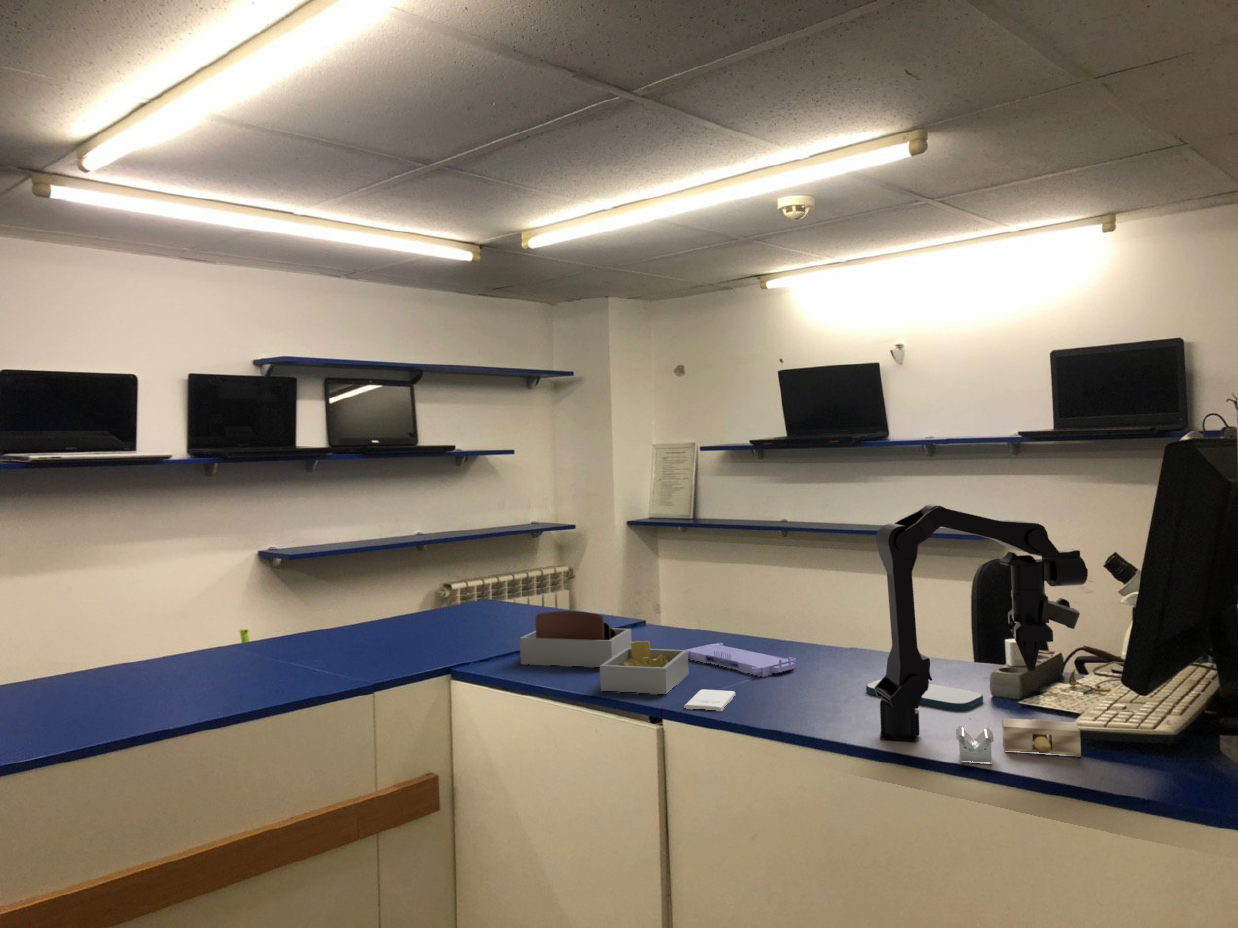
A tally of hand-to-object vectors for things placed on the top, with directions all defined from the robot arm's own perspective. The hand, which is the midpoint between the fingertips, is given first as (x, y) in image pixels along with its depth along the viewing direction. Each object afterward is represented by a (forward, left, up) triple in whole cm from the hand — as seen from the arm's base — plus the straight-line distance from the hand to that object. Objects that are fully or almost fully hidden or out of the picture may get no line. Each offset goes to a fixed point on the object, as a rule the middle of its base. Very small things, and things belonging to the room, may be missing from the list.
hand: (1030, 669), depth 170 cm
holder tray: (-109, +38, -11) cm, 116 cm away
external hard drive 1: (-64, +5, -12) cm, 65 cm away
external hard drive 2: (-20, +18, -12) cm, 29 cm away
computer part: (-65, +40, -12) cm, 77 cm away
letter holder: (-109, +37, -11) cm, 116 cm away
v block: (-11, -20, -11) cm, 26 cm away
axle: (0, -11, -9) cm, 15 cm away
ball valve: (-82, +18, -11) cm, 85 cm away
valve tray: (-83, +18, -11) cm, 86 cm away
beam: (0, -13, -11) cm, 17 cm away
